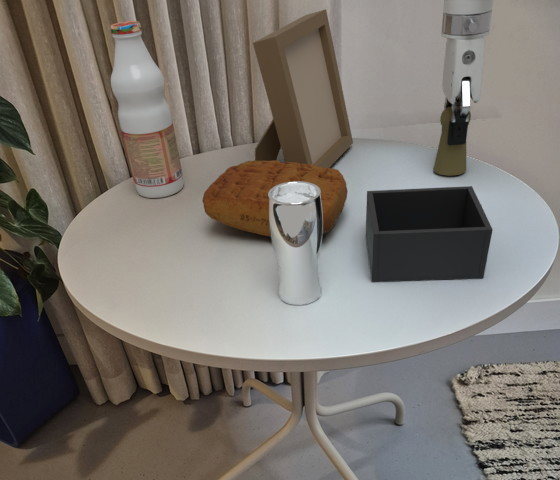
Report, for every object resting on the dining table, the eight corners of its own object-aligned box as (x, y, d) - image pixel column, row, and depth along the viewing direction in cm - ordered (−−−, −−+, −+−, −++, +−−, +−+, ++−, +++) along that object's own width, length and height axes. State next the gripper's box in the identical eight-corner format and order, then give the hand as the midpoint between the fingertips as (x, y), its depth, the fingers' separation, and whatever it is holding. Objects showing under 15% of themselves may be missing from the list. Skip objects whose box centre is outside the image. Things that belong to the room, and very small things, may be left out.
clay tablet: (199, 238, 95) (191, 192, 90) (240, 195, 107) (234, 151, 102) (326, 254, 89) (325, 205, 83) (355, 205, 100) (356, 160, 95)
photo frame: (353, 147, 121) (354, 9, 104) (312, 190, 106) (307, 37, 90) (289, 141, 126) (281, 8, 110) (242, 181, 112) (225, 35, 95)
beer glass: (318, 276, 84) (315, 177, 74) (329, 302, 79) (328, 199, 69) (271, 283, 83) (262, 184, 74) (280, 310, 78) (271, 208, 68)
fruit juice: (149, 204, 107) (108, 33, 88) (128, 188, 113) (87, 25, 95) (193, 189, 111) (163, 21, 92) (171, 174, 117) (139, 15, 98)
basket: (464, 232, 91) (472, 185, 86) (483, 278, 81) (492, 229, 76) (365, 236, 92) (366, 190, 87) (371, 282, 82) (373, 234, 77)
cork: (426, 170, 109) (431, 109, 101) (445, 160, 111) (452, 100, 104) (454, 178, 105) (461, 115, 98) (472, 167, 108) (481, 105, 101)
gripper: (502, 33, 86) (484, 154, 98) (478, 12, 99) (465, 121, 111) (451, 37, 87) (439, 157, 98) (434, 16, 100) (425, 124, 111)
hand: (453, 137), depth 104 cm, fingers closed on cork, 5 cm apart
